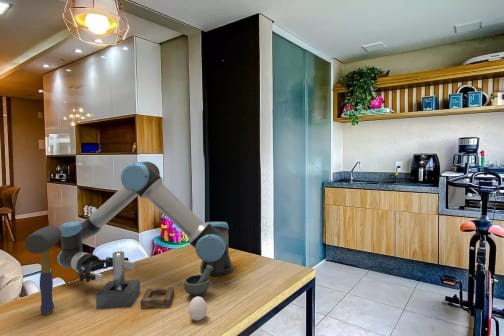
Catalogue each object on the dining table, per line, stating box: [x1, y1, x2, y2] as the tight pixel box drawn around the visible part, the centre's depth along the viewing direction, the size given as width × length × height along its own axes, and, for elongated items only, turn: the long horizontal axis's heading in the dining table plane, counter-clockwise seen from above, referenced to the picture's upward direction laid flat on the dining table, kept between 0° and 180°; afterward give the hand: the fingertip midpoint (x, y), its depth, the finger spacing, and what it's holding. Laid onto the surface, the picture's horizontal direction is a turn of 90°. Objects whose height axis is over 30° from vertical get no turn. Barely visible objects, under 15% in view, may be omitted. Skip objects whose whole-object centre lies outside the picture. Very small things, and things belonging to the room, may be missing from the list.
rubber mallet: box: [24, 225, 62, 315], centre depth 103 cm, size 12×8×30 cm, turn 13°
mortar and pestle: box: [183, 265, 213, 302], centre depth 115 cm, size 11×9×12 cm
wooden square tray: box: [140, 286, 175, 310], centre depth 111 cm, size 10×10×3 cm
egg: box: [188, 296, 208, 321], centre depth 99 cm, size 6×6×8 cm
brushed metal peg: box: [112, 250, 126, 290], centre depth 113 cm, size 4×4×16 cm
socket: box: [95, 279, 141, 310], centre depth 113 cm, size 12×12×5 cm
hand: (118, 272), depth 112 cm, fingers open, 13 cm apart
